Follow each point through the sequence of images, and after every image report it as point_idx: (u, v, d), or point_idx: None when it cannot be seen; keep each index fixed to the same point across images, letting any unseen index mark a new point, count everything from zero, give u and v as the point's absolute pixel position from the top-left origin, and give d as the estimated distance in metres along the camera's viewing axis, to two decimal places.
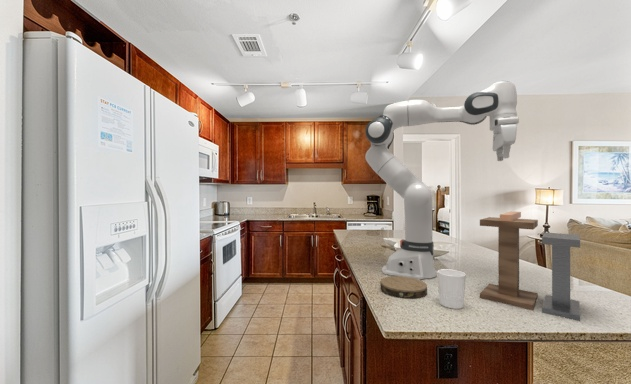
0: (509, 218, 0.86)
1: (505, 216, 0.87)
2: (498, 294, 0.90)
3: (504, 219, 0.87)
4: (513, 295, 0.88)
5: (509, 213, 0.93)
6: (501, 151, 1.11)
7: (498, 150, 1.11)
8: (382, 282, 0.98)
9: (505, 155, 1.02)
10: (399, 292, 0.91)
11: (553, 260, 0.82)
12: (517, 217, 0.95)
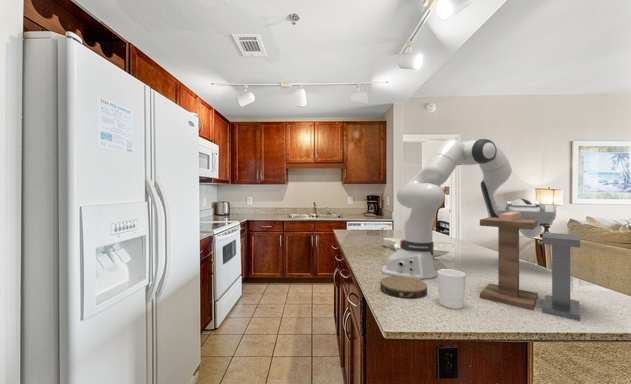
0: (509, 218, 0.86)
1: (505, 216, 0.87)
2: (498, 294, 0.90)
3: (504, 219, 0.87)
4: (513, 295, 0.88)
5: (509, 213, 0.93)
6: (509, 207, 1.19)
7: (509, 206, 1.19)
8: (382, 282, 0.98)
9: (540, 203, 1.10)
10: (399, 292, 0.91)
11: (553, 260, 0.82)
12: (517, 217, 0.95)
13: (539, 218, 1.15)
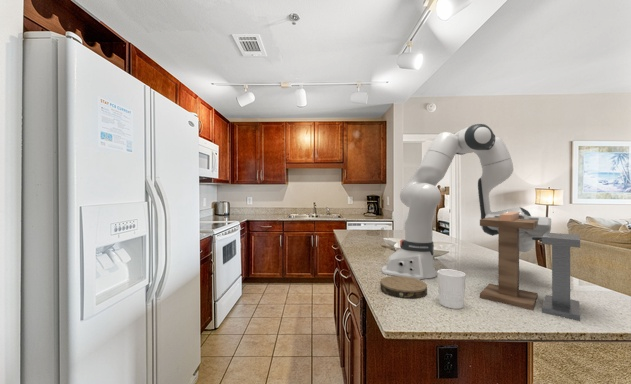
0: (509, 218, 0.86)
1: (505, 216, 0.87)
2: (498, 294, 0.90)
3: (504, 219, 0.87)
4: (513, 295, 0.88)
5: (509, 213, 0.93)
6: None
7: None
8: (382, 282, 0.98)
9: (524, 214, 0.98)
10: (399, 292, 0.91)
11: (553, 260, 0.82)
12: (517, 217, 0.96)
13: (532, 231, 1.02)
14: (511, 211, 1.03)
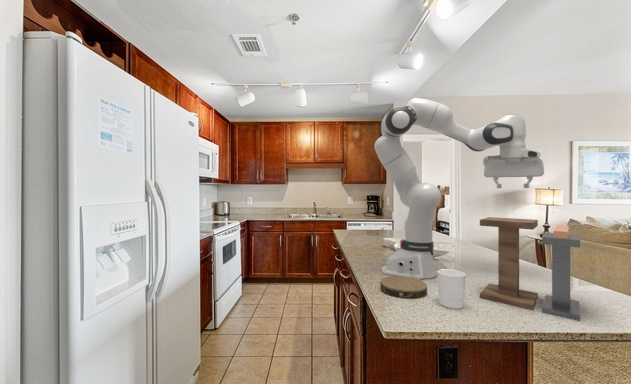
0: (565, 235, 0.77)
1: (560, 233, 0.78)
2: (498, 294, 0.90)
3: (559, 236, 0.78)
4: (513, 295, 0.88)
5: (561, 228, 0.84)
6: None
7: None
8: (382, 282, 0.98)
9: None
10: (399, 292, 0.91)
11: (553, 260, 0.82)
12: None
13: None
14: None
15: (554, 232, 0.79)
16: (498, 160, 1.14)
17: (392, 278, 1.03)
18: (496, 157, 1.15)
